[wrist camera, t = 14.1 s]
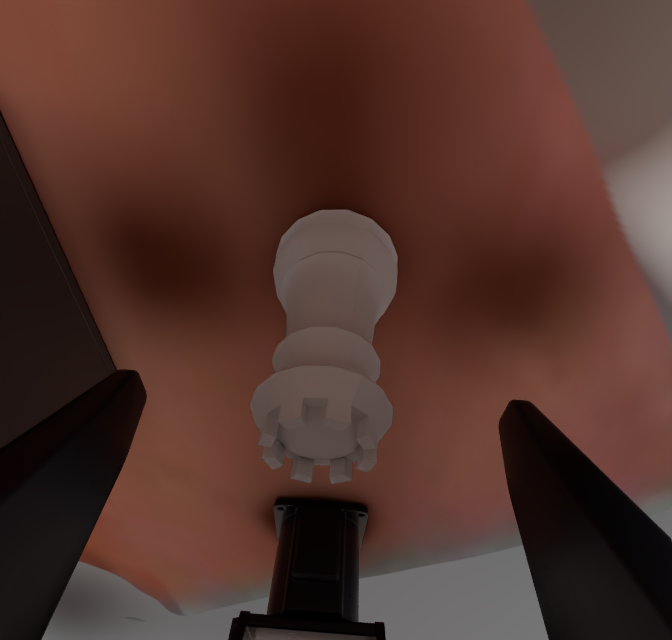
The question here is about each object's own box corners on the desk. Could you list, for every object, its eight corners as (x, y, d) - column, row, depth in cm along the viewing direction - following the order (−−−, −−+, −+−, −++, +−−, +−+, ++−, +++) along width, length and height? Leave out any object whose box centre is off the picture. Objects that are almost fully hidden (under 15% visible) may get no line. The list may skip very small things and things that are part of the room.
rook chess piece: (314, 176, 12) (266, 343, 6) (422, 245, 14) (475, 439, 7) (258, 275, 15) (182, 465, 8) (354, 324, 16) (349, 521, 10)
